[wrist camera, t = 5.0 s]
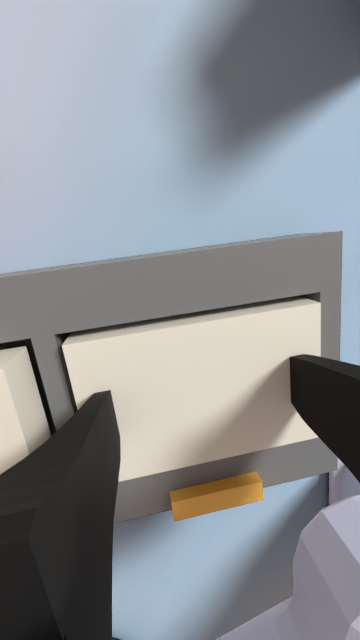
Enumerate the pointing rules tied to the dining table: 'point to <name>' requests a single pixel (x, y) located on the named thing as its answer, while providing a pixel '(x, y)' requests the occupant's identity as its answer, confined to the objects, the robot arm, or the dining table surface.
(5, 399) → the left button
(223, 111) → the dining table surface
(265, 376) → the right button
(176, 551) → the dining table surface
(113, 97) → the dining table surface
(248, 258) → the switch unit
